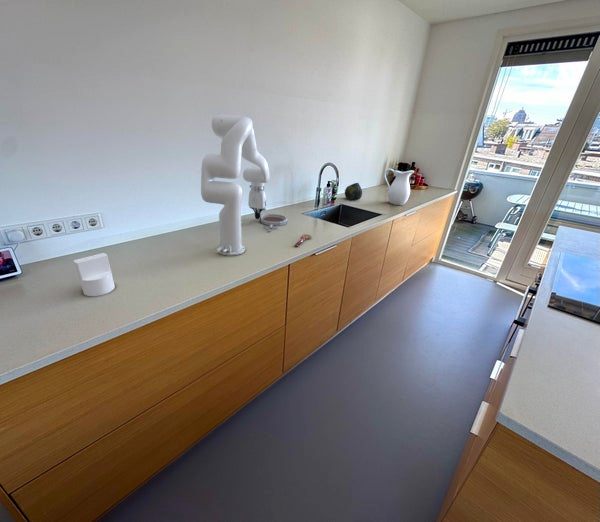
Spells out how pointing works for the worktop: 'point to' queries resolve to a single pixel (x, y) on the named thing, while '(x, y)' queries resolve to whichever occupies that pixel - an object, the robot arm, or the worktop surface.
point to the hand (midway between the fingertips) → (257, 218)
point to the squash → (353, 192)
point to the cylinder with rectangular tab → (95, 274)
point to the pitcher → (399, 187)
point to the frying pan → (273, 220)
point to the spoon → (303, 239)
